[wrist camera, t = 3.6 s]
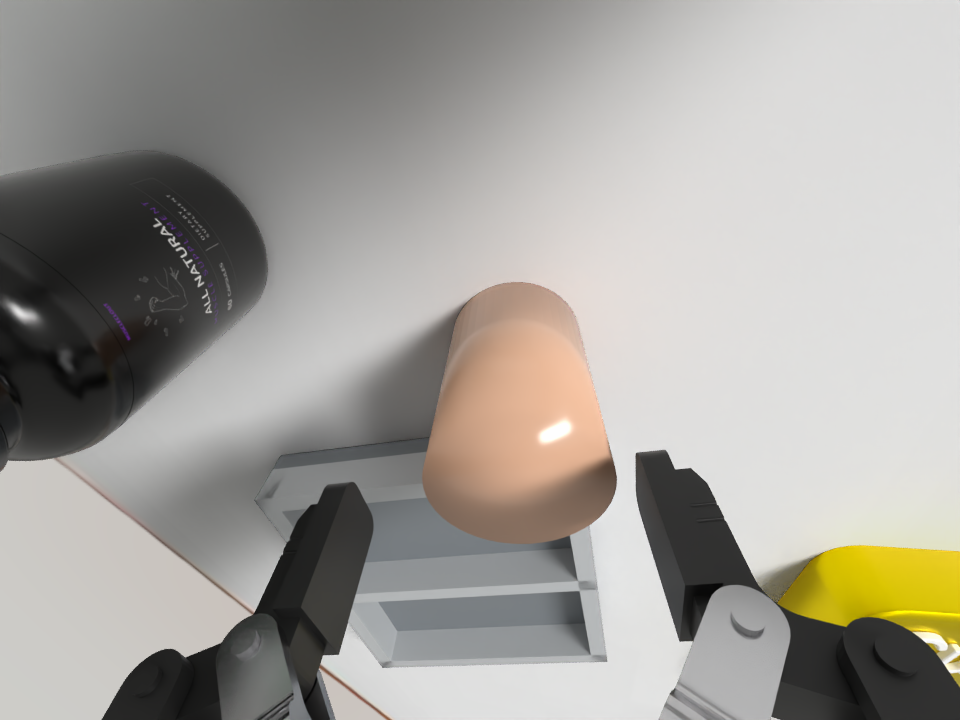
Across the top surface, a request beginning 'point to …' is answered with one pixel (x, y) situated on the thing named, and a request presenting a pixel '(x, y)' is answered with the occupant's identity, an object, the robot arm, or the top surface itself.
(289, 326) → the top surface
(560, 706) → the top surface
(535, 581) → the rack
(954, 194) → the top surface
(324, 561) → the robot arm
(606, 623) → the top surface
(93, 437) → the supplement bottle
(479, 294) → the peach rounded capsule
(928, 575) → the element tile
